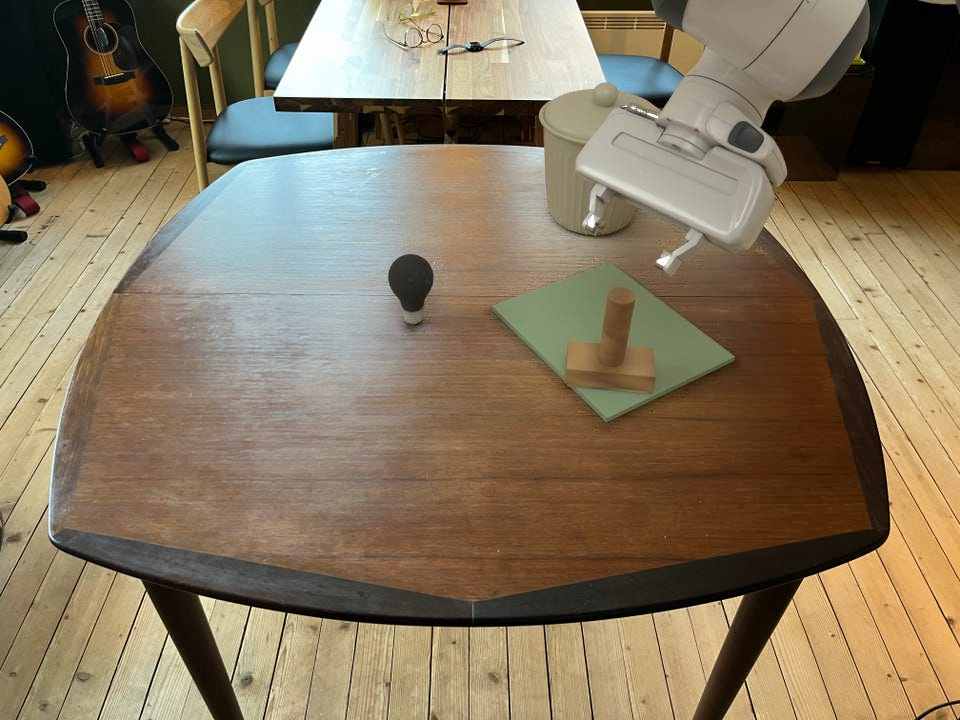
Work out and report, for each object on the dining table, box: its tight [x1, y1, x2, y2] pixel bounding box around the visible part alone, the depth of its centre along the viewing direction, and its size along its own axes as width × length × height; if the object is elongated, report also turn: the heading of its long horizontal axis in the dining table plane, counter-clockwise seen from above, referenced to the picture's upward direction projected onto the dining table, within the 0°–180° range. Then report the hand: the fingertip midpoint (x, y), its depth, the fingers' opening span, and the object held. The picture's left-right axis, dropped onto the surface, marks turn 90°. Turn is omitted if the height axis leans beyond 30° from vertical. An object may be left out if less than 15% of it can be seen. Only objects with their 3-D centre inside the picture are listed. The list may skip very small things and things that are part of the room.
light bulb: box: [387, 253, 435, 325], centre depth 92 cm, size 6×6×10 cm
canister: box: [538, 81, 662, 236], centre depth 108 cm, size 18×18×21 cm
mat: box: [491, 261, 736, 423], centre depth 93 cm, size 24×20×1 cm
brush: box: [564, 287, 656, 394], centre depth 82 cm, size 10×5×12 cm, turn 83°
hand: (624, 251), depth 73 cm, fingers open, 8 cm apart
